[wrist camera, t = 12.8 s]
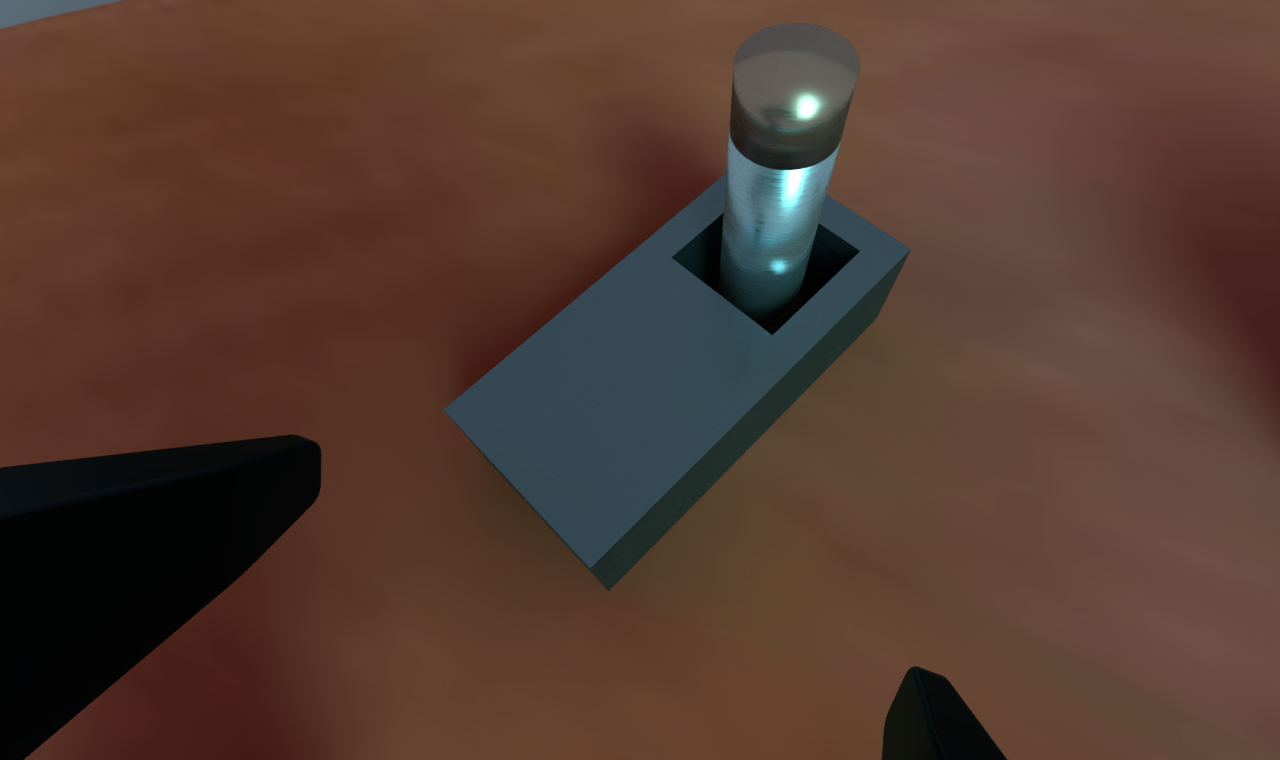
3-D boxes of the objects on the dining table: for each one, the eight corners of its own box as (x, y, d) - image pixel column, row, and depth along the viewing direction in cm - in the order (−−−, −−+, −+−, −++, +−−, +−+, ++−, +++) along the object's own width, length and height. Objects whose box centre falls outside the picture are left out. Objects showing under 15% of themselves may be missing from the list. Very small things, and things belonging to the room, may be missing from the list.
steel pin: (757, 367, 25) (805, 126, 15) (701, 323, 26) (708, 68, 16) (805, 320, 26) (885, 57, 15) (749, 279, 27) (787, 7, 16)
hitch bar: (608, 590, 22) (590, 568, 18) (483, 456, 24) (443, 409, 20) (876, 318, 26) (911, 249, 22) (745, 225, 28) (755, 148, 24)
